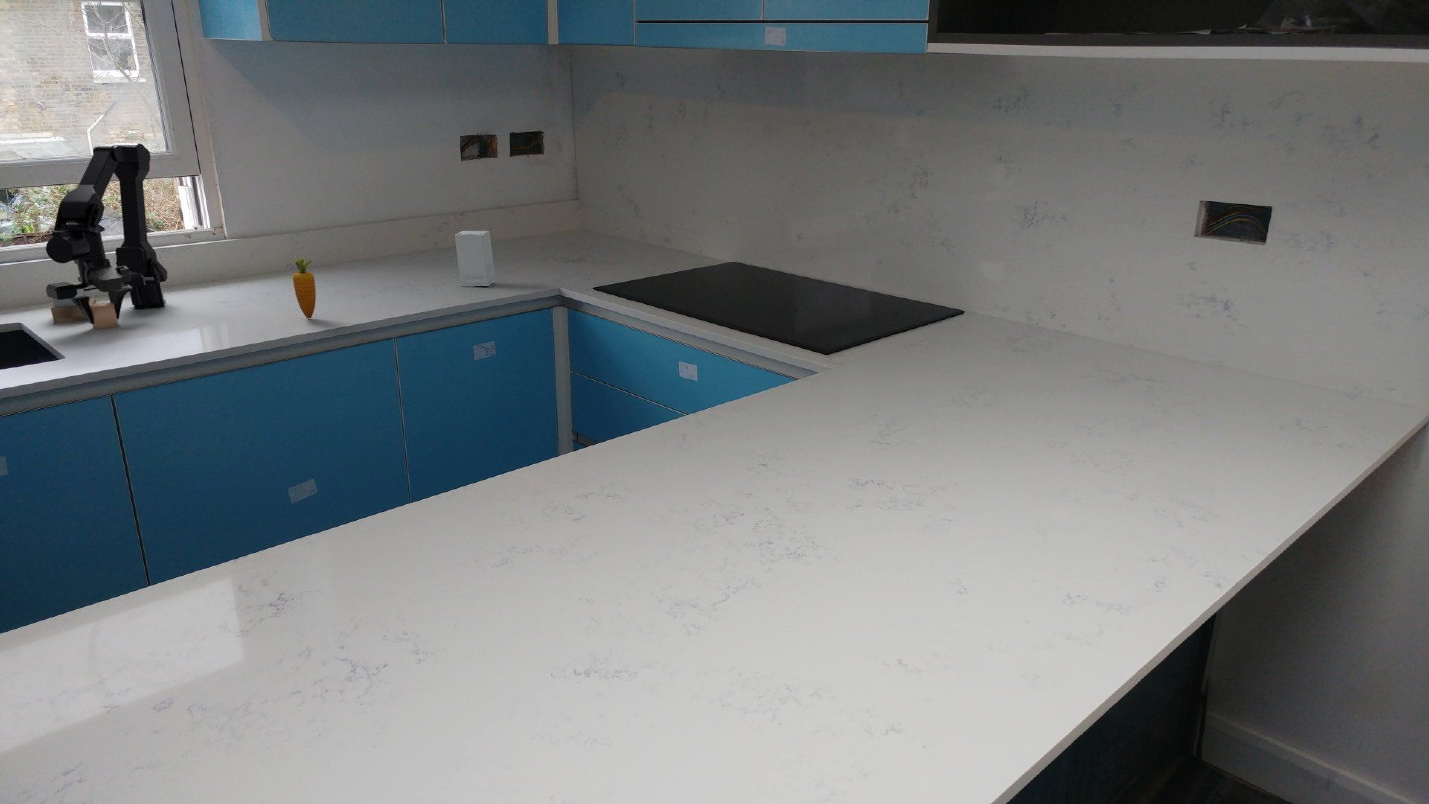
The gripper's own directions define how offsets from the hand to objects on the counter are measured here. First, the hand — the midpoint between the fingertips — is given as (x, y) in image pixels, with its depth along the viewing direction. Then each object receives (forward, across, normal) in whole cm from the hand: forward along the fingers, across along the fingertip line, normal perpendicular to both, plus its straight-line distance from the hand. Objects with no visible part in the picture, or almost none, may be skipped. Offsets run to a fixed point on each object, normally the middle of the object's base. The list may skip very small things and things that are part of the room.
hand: (104, 321), depth 218 cm
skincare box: (+1, +81, -36) cm, 89 cm away
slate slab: (-2, 0, +14) cm, 14 cm away
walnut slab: (+2, 0, +14) cm, 14 cm away
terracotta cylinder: (+1, 0, 0) cm, 1 cm away
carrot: (+1, +31, -32) cm, 45 cm away
